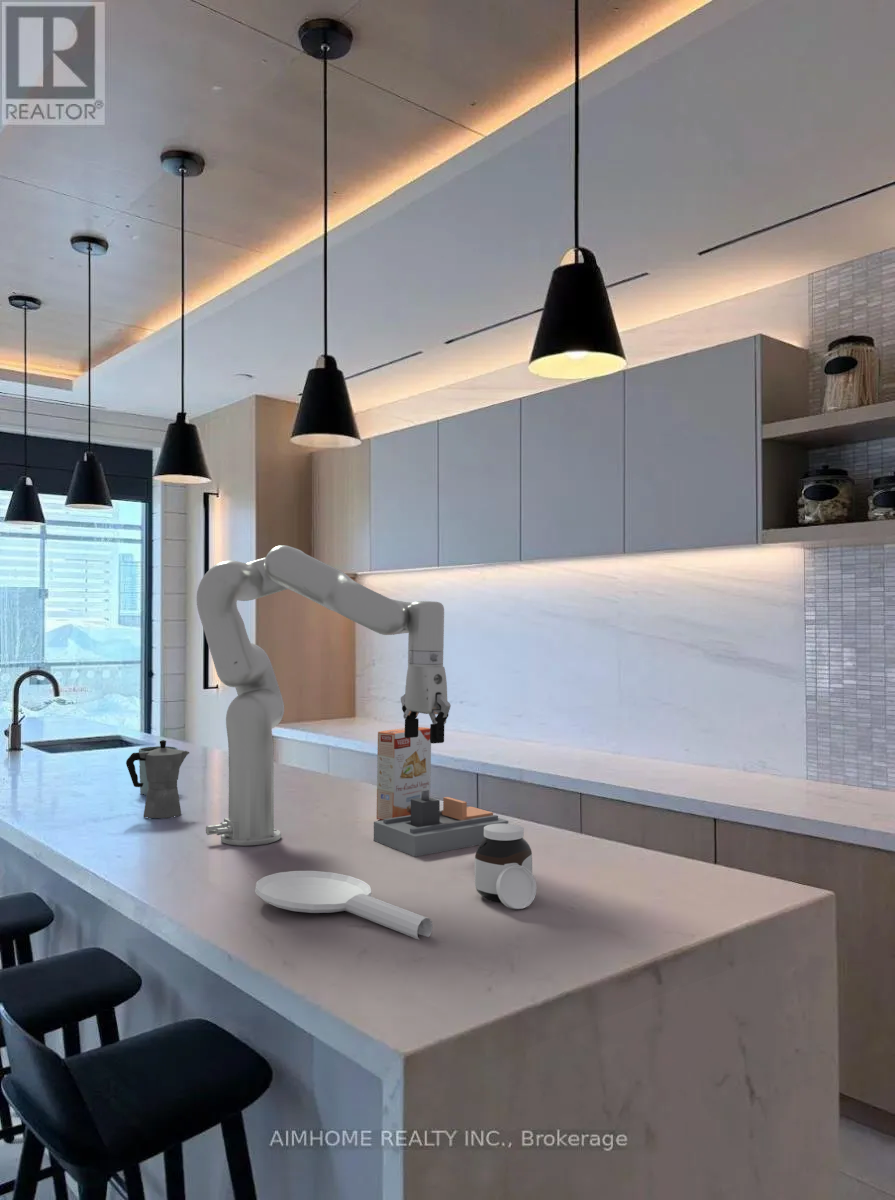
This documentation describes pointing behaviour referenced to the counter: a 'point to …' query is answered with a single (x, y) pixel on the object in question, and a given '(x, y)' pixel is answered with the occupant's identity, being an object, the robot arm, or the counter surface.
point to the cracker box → (401, 771)
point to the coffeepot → (159, 780)
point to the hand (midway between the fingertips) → (423, 740)
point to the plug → (425, 810)
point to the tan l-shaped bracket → (461, 810)
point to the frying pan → (337, 899)
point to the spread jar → (505, 866)
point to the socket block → (432, 834)
